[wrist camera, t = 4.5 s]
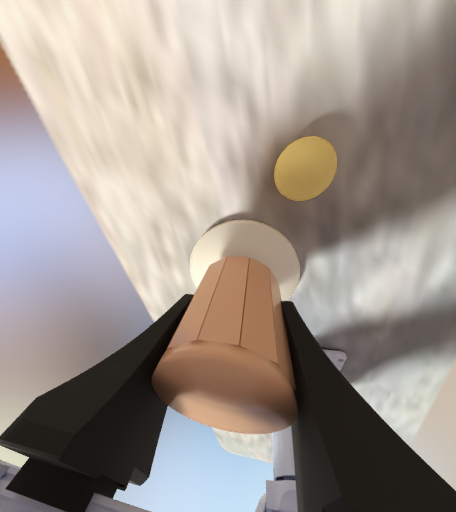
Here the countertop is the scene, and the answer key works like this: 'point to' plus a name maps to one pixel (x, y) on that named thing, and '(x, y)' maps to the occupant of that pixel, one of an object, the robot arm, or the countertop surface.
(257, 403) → the cup
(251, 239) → the dish
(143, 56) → the countertop surface
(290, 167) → the ball
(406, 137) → the countertop surface
